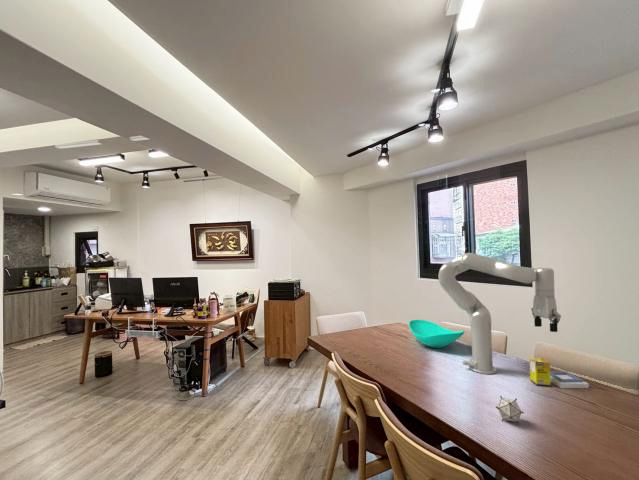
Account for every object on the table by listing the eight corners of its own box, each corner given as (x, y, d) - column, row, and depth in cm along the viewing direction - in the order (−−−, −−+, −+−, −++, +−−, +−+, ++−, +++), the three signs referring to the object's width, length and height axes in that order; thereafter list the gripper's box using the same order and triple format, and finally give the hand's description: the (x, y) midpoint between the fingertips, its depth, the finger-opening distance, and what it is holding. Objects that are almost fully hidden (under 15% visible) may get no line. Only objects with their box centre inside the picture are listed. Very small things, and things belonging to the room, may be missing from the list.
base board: (561, 388, 136) (561, 380, 136) (542, 377, 148) (542, 370, 148) (588, 388, 136) (588, 380, 136) (567, 377, 148) (566, 370, 148)
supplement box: (551, 386, 138) (549, 362, 138) (536, 385, 139) (535, 361, 139) (544, 381, 143) (543, 358, 144) (530, 380, 145) (529, 357, 145)
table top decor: (476, 351, 186) (476, 330, 187) (443, 358, 175) (442, 335, 175) (429, 336, 222) (428, 317, 223) (399, 341, 211) (398, 321, 212)
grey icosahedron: (503, 429, 112) (486, 401, 117) (523, 419, 112) (505, 392, 118) (513, 429, 104) (494, 399, 109) (535, 419, 105) (514, 389, 110)
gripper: (524, 291, 155) (525, 324, 155) (551, 296, 138) (552, 334, 138) (538, 291, 156) (539, 324, 155) (567, 296, 138) (568, 333, 138)
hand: (545, 328), depth 146 cm, fingers open, 9 cm apart
